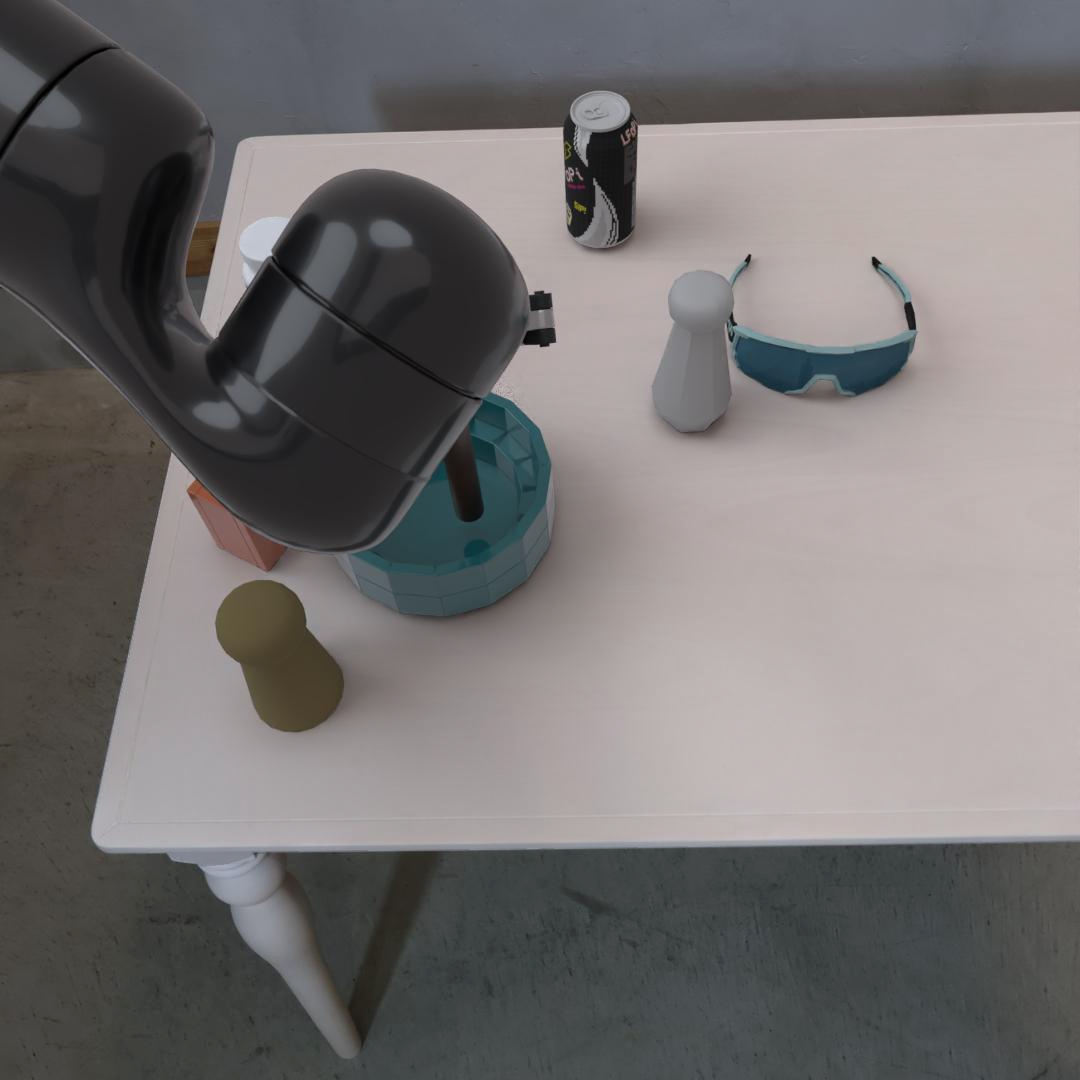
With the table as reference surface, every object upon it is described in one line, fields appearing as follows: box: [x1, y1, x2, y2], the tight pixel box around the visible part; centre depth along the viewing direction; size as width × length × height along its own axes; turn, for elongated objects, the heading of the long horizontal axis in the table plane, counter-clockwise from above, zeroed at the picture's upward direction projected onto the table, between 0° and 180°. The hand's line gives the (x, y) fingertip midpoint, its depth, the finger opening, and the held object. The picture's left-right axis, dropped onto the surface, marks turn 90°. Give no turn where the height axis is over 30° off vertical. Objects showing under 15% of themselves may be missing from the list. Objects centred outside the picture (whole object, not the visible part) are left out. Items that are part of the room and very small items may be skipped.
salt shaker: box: [651, 269, 735, 434], centre depth 79 cm, size 6×6×13 cm
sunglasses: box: [726, 253, 919, 397], centre depth 87 cm, size 14×15×5 cm
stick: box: [444, 423, 484, 522], centre depth 68 cm, size 2×2×20 cm
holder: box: [185, 478, 288, 572], centre depth 77 cm, size 5×5×7 cm
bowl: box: [334, 391, 556, 617], centre depth 77 cm, size 16×16×6 cm
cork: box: [214, 579, 345, 733], centre depth 69 cm, size 6×6×11 cm
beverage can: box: [562, 90, 639, 249], centre depth 90 cm, size 6×6×12 cm
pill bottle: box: [238, 215, 291, 289], centre depth 86 cm, size 6×6×10 cm
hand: (436, 325), depth 64 cm, fingers closed on stick, 2 cm apart
